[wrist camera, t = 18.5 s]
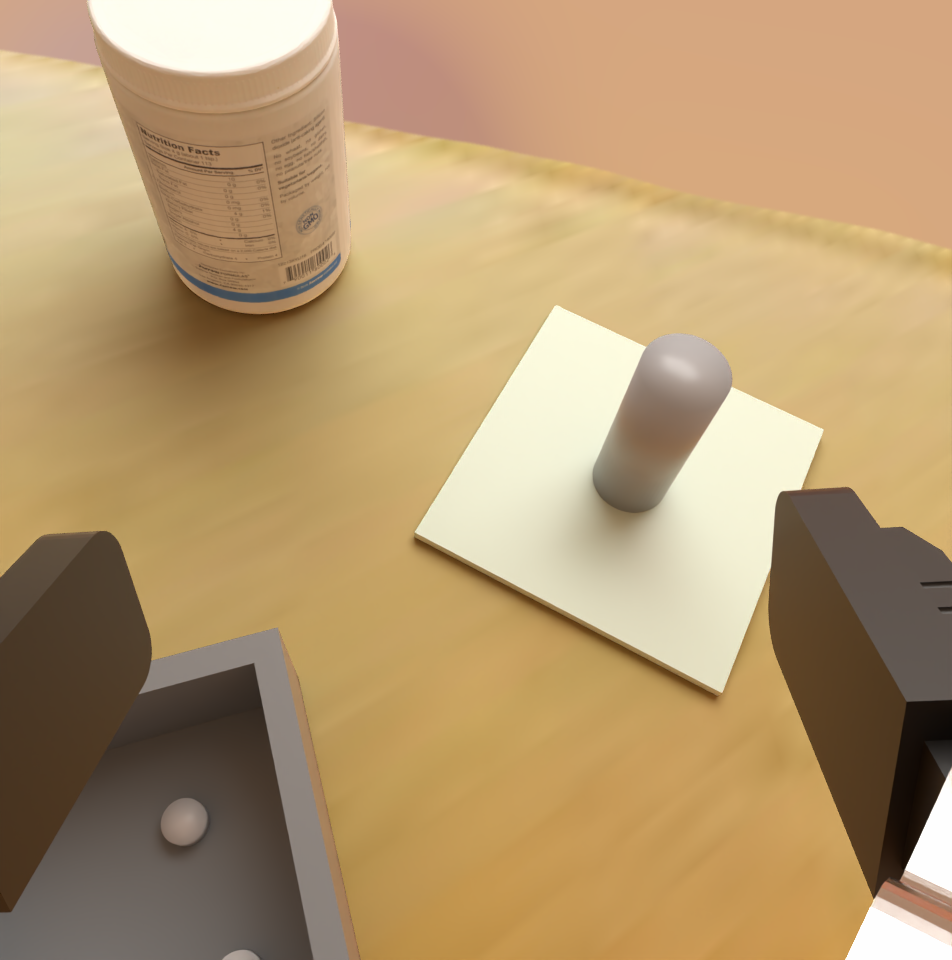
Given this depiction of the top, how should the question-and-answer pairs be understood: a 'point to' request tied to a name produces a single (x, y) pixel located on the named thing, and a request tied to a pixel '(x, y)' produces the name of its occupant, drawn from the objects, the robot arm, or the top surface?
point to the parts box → (196, 828)
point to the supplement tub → (236, 140)
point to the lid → (627, 492)
